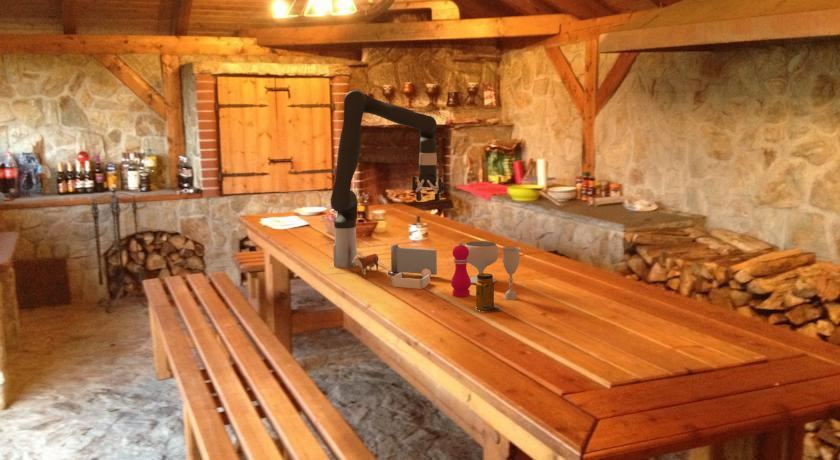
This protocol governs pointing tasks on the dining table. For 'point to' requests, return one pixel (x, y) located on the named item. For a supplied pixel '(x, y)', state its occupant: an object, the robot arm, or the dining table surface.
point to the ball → (425, 272)
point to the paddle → (413, 260)
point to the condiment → (485, 293)
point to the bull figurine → (366, 262)
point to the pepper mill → (461, 272)
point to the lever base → (392, 273)
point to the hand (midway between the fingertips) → (427, 201)
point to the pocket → (409, 281)
